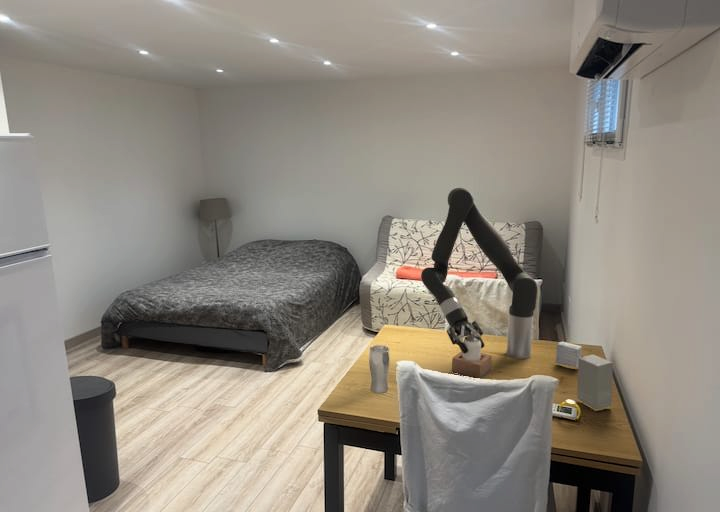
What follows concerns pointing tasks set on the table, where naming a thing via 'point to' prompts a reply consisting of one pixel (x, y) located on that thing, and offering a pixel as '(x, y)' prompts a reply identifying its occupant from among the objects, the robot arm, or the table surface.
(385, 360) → the beer glass
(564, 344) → the medicine box
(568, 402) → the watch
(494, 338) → the table surface
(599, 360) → the skincare box
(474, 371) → the box
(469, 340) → the can
